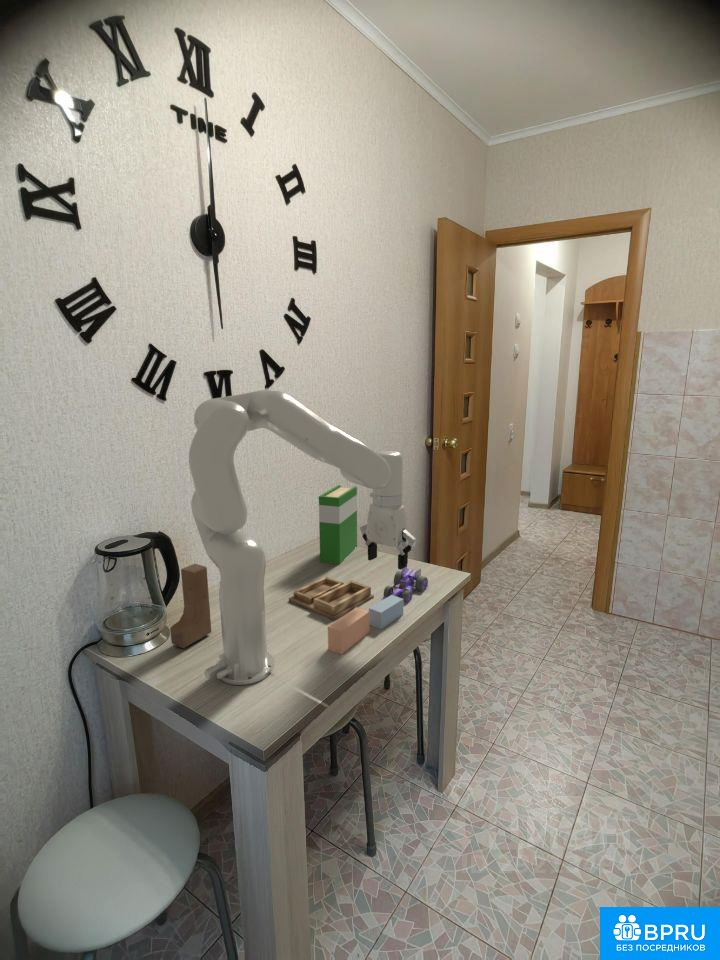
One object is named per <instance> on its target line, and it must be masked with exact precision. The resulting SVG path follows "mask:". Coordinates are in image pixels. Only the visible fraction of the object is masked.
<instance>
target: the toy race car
mask: <svg viewBox="0 0 720 960" xmlns="http://www.w3.org/2000/svg"><path fill="white" fill-rule="evenodd" d="M421 573H422V570H421V568H418V569H417V570H415V569H411V568H409V567H408V565H407V566H406V567H405V568H403V569H401V571H399V570H398V571H396V572H395V574H394V577H393V585H394V587H393V586H391V585H386V586H385V587H384V589H383V597H382V599H381V601H382V600H384V599H385V598H387V597H389V596H390V595H393V596H396V597H399V598H402V599H404V602H403V606H404V605H405V604H408V603H409V602H410V601H411V600H412V599H413V593H414V592H413V591H414V589H415V591H416V590H417V591H418V592H421V591H423V590H424V591H425V590H426V589H427V588H428V585H429V579H428V577H426V576H422V574H421ZM413 587H414V588H413ZM426 587H427V588H426ZM425 588H426V589H425ZM424 591H423V592H424Z"/></svg>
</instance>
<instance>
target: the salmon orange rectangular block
mask: <svg viewBox="0 0 720 960" xmlns="http://www.w3.org/2000/svg"><path fill="white" fill-rule="evenodd" d="M369 633H370V625H369V610H366V609H363V608H359V607H356V608H355V609H353V610H352V611H350V612H348V613H347V614H345V615H343V616H342V617H340V618H338V619H337V620H335V621H334V622H333V623H331V624H329V626H327V649H328V650H330V651H331V652H334V653H337V654H340V655H343V654H344V653H345V652H347V651H348V650H349V649H350V648H351V647H353V646H354V645H355V644H357V643H358V642H359V641H360V640H361V639H362V638H364V637H365V636H367V635H368V634H369Z"/></svg>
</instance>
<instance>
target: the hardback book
mask: <svg viewBox="0 0 720 960" xmlns="http://www.w3.org/2000/svg"><path fill="white" fill-rule="evenodd" d="M318 521H319V525H318V526H319V529H318V530H319V561H320V563H324V564H325V563H326V564H333V565H334V564H335V565H341V564H342V563H343V562H345V560H346V559H347V558H346V557H347V556H348V555H349V556H350V555H351V553H353V552H354V550H355V549H356V548H358V486H355V485H354V486H353V487H351V488H350V487H341V485H339V484H337V485H336V486H333V487H332V488H331V489H329V490H327V491H326V492H323V493H322V494H321V495H318ZM355 547H356V548H355ZM349 556H348V557H349ZM345 558H346V559H345ZM344 559H345V560H344Z"/></svg>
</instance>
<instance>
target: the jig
mask: <svg viewBox="0 0 720 960" xmlns="http://www.w3.org/2000/svg"><path fill="white" fill-rule="evenodd" d="M374 597H375V595H374V594H372V587H371V586H369V585H367V584H366V585H365V584H362V583H359V582H357V581H354V580H349V581H347V582H343V581H339V580H336V579H333V578H331V577H329V576H324V577H323V578H321V579H318V580H316V581H314V582H312V583H310V584H308V585H305V586H303V587H300V588H298V589H297V590H294V591H293V595H292V596H290V597H288V602H290V603H293V604H295V605H297V606H299V607H302V608H304V609H306V610H309V611H310V612H313V613H316V614H318V615H321V616H323V617H325V618H327V619H330V620H332V621H334V622H336V621H337V620H339V619H340V618H342V617H343V616H344V615H346V614H347V613H349V612H350V611H352V610H353V609H355V608H356V607H357V608H359V607H361V606H362V605H364V604H365V603H366V602H368V601H370V600H372V599H373V598H374Z"/></svg>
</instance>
